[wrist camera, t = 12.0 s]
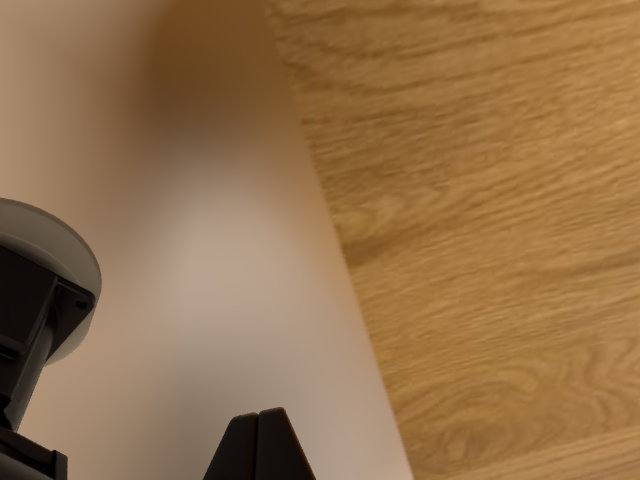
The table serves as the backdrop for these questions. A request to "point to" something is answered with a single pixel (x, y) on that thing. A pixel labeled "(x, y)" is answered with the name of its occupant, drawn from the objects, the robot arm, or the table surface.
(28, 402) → the robot arm
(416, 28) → the table surface
